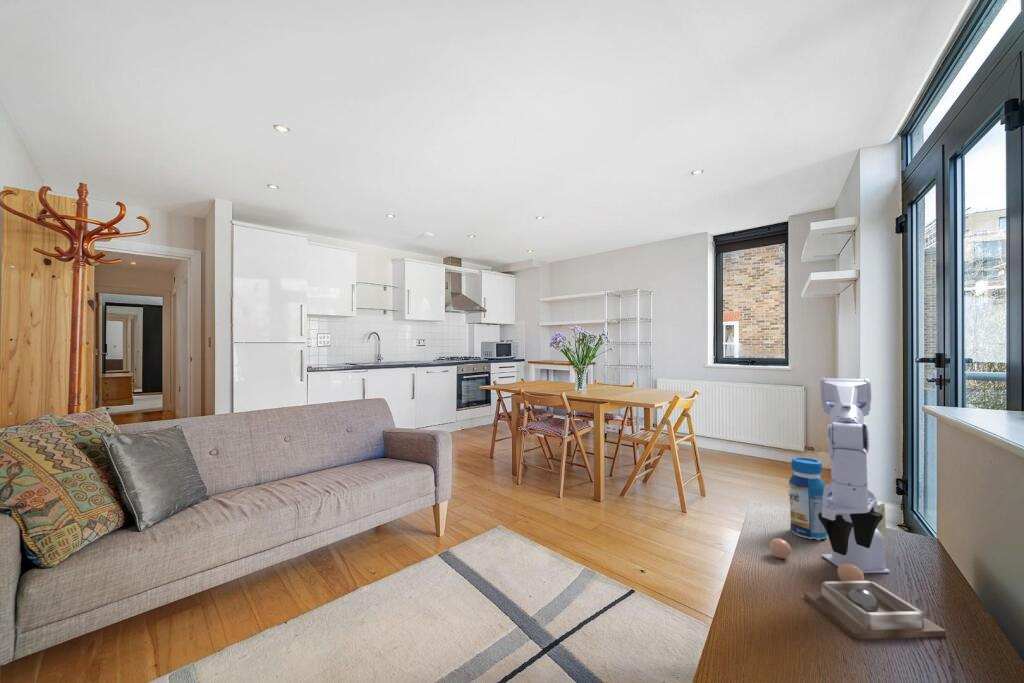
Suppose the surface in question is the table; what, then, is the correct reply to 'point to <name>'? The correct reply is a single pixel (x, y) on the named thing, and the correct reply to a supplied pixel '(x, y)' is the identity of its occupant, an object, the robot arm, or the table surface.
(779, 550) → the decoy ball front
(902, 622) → the holder board
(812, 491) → the beverage bottle
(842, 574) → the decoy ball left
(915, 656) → the table surface
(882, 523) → the skincare box
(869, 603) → the steel ball
